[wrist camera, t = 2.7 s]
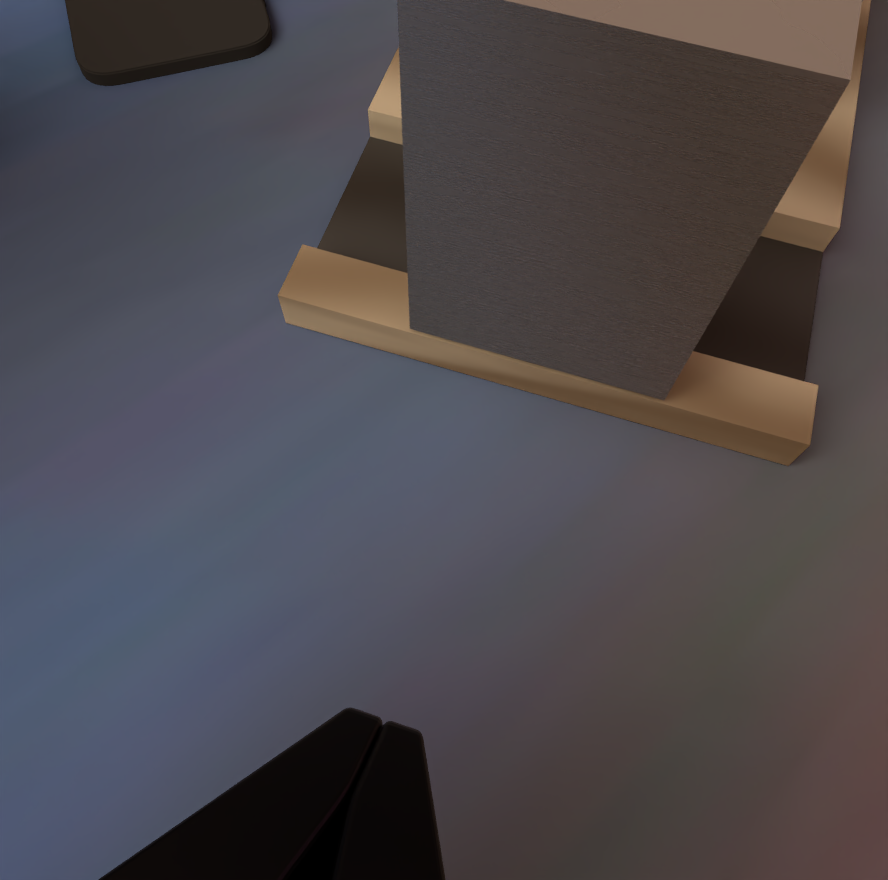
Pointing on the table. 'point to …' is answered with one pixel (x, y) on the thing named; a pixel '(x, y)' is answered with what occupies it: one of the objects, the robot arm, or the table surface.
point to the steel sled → (602, 166)
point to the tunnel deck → (682, 412)
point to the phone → (163, 36)
